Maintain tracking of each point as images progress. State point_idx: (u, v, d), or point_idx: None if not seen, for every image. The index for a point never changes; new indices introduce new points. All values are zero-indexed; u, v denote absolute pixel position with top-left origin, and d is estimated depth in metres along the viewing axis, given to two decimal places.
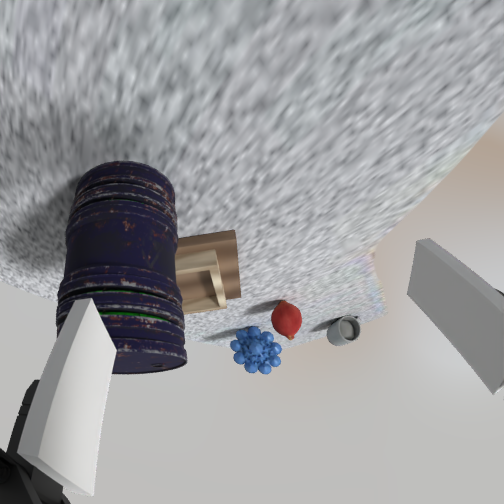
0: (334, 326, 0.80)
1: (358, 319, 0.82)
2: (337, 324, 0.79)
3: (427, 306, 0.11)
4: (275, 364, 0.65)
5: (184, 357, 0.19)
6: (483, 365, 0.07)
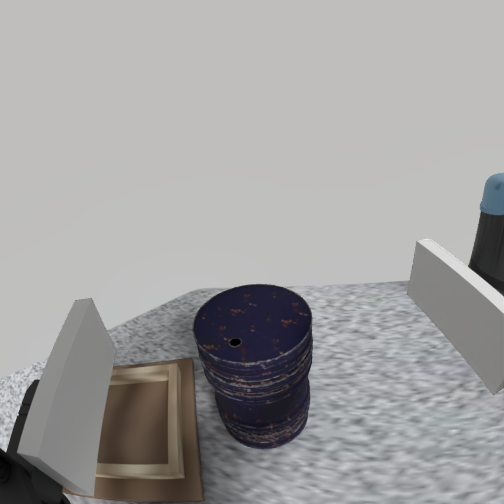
0: None
1: None
2: None
3: (427, 306, 0.11)
4: None
5: (268, 361, 0.20)
6: (483, 365, 0.07)
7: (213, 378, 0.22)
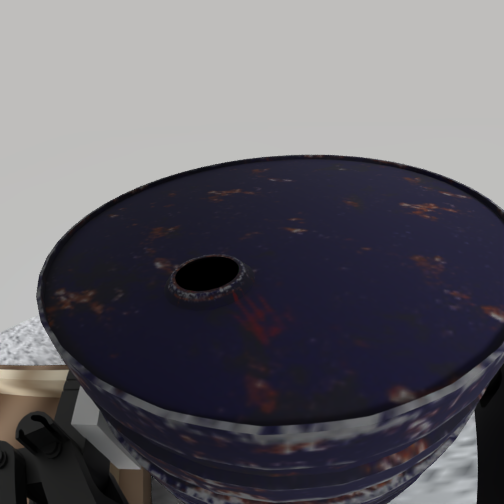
0: None
1: None
2: None
3: None
4: None
5: (469, 383, 0.02)
6: None
7: None
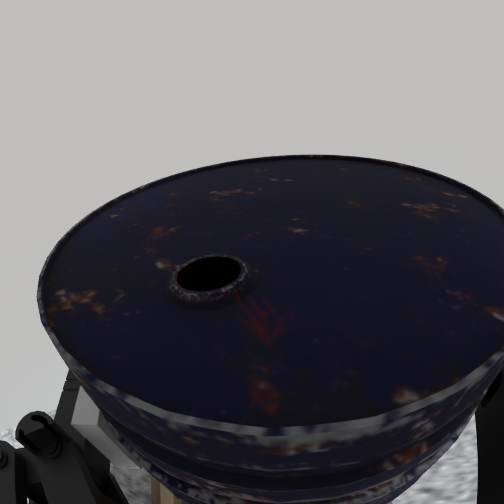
0: None
1: None
2: None
3: None
4: None
5: (472, 383, 0.02)
6: None
7: None
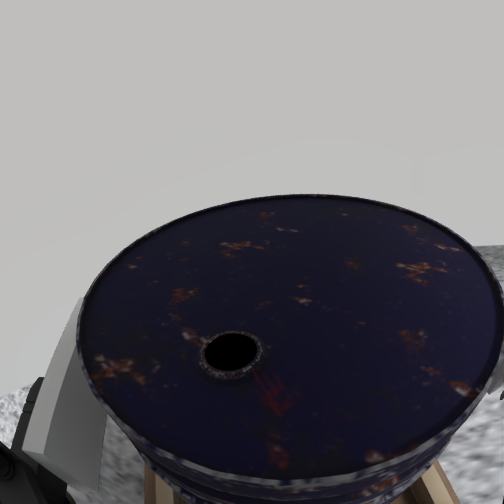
0: None
1: None
2: None
3: None
4: None
5: (423, 450, 0.02)
6: None
7: None
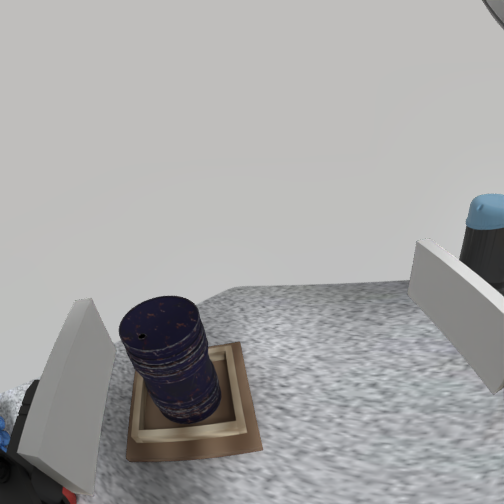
0: None
1: None
2: None
3: (427, 306, 0.11)
4: None
5: (157, 350, 0.28)
6: (483, 365, 0.07)
7: (131, 361, 0.30)
